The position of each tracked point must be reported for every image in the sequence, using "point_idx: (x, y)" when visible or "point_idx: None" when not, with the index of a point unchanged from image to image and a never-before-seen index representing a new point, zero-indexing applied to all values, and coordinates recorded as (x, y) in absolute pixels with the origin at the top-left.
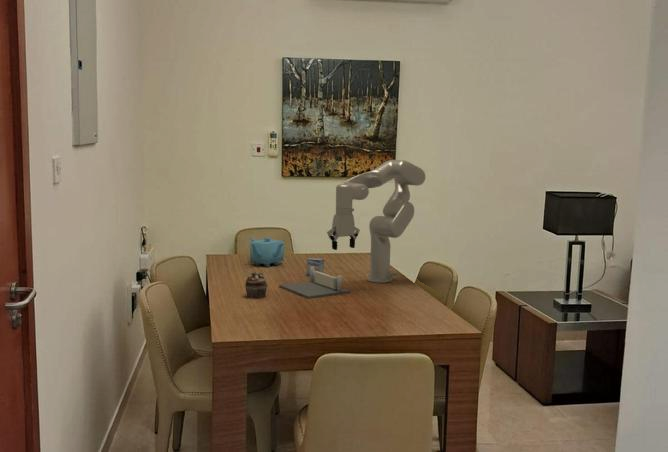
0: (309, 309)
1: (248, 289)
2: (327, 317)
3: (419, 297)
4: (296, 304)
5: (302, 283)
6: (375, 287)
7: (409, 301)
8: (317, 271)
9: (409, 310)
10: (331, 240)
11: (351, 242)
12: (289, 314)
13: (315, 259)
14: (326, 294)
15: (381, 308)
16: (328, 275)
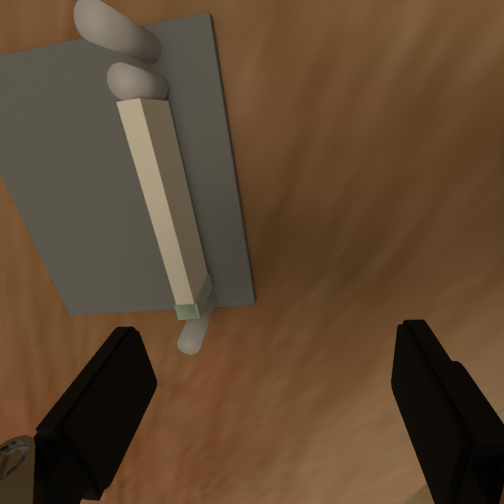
0: None
1: None
2: None
3: None
4: (30, 348)
5: (81, 81)
6: (424, 263)
7: (373, 442)
8: (136, 99)
9: (306, 485)
10: (16, 439)
11: (422, 423)
12: (6, 407)
13: None
14: (145, 309)
15: (250, 454)
16: (169, 243)
